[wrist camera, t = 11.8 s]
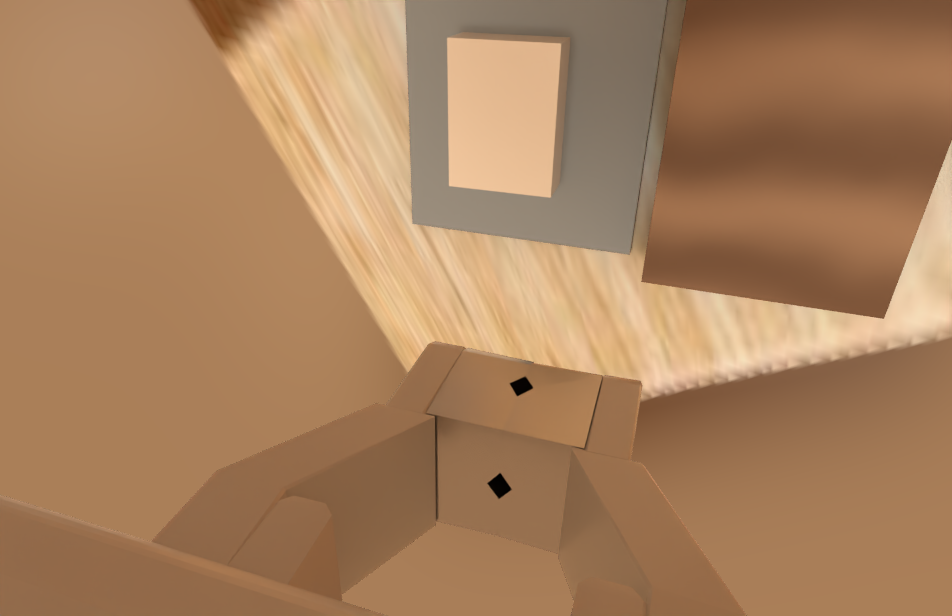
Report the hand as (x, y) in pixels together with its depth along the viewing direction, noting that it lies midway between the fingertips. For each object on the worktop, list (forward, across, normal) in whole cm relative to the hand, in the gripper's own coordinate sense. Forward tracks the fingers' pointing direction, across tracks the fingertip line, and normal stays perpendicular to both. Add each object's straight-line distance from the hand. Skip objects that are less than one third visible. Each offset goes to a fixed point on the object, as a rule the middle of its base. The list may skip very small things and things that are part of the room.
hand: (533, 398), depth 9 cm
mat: (+30, +7, +4) cm, 31 cm away
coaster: (+28, +8, +3) cm, 29 cm away
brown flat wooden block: (+30, -7, +3) cm, 31 cm away
